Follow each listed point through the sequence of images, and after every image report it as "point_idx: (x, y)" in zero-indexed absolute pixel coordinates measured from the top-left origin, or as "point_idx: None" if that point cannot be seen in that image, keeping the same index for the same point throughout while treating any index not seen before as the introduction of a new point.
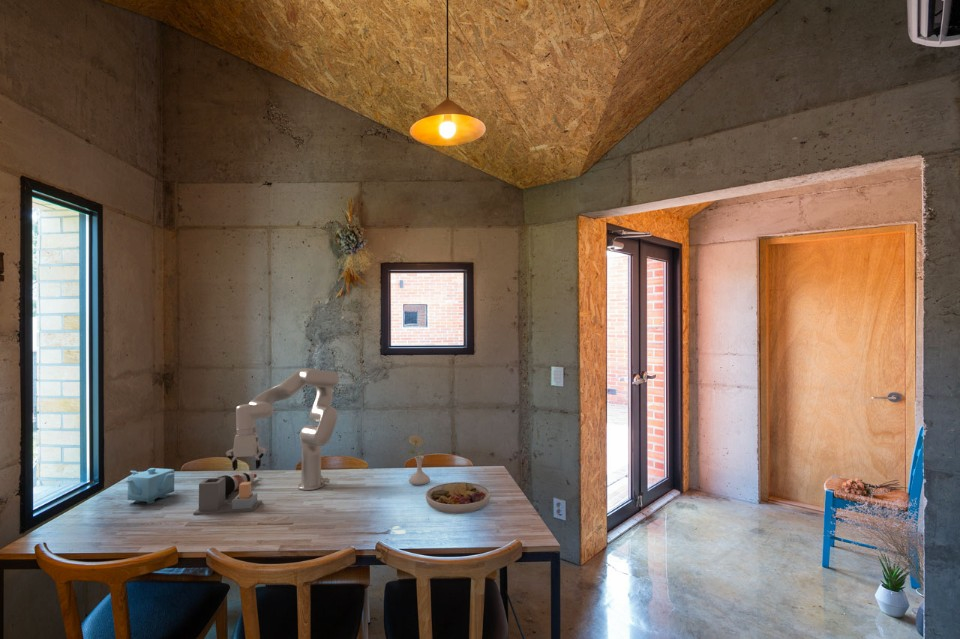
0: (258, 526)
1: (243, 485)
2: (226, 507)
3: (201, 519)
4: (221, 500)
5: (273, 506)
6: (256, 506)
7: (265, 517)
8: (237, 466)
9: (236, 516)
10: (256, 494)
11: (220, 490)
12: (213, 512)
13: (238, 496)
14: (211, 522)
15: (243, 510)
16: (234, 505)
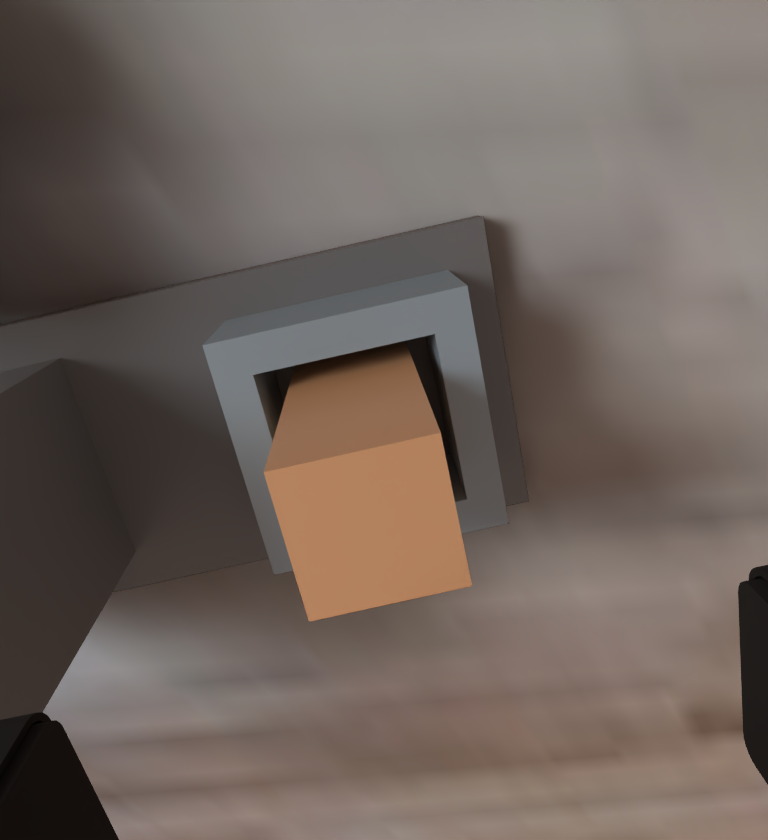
0: (719, 766)
1: (385, 596)
2: (177, 478)
3: (109, 695)
4: (73, 502)
5: (684, 341)
6: (514, 415)
7: (708, 610)
8: (27, 760)
9: (410, 612)
10: (473, 323)
11: (18, 618)
12: (120, 586)
13: (265, 446)
14: (258, 739)
15: None
16: None
